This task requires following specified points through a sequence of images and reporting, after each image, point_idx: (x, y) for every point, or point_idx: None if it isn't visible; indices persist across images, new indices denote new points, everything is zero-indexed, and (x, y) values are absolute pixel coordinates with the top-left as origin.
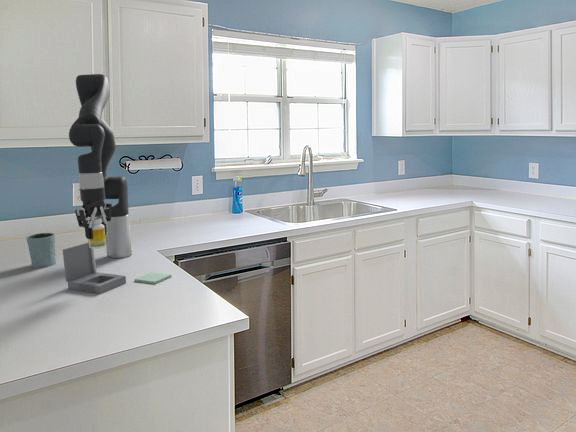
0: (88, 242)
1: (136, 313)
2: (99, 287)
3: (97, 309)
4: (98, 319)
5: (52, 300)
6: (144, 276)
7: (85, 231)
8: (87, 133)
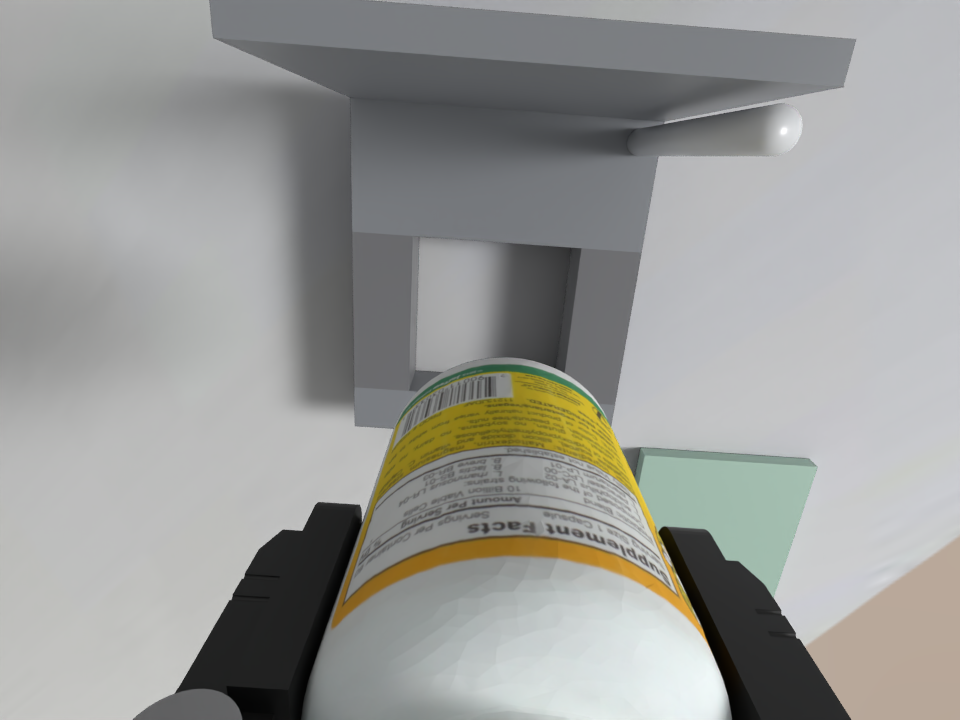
0: (413, 415)
1: None
2: (355, 422)
3: (173, 544)
4: (90, 620)
5: (137, 194)
6: (711, 482)
7: (210, 643)
8: None
